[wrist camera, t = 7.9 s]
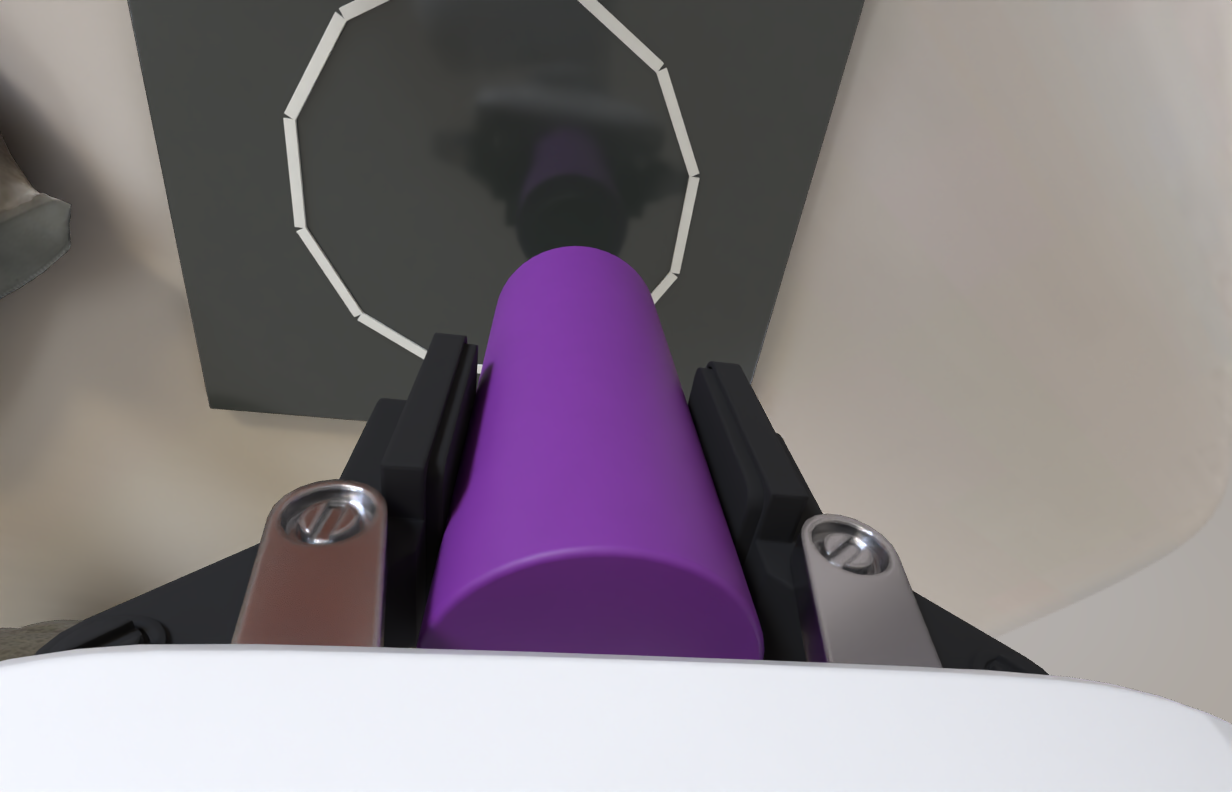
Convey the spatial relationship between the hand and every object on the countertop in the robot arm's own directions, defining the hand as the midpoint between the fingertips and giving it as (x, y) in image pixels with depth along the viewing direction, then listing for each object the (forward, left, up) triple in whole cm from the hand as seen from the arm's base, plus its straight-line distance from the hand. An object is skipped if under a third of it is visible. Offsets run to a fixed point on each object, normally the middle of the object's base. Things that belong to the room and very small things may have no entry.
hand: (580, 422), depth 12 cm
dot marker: (0, 0, -6) cm, 6 cm away
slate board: (-2, -2, -9) cm, 10 cm away
